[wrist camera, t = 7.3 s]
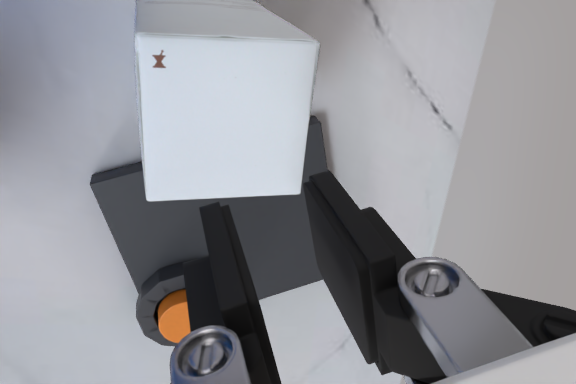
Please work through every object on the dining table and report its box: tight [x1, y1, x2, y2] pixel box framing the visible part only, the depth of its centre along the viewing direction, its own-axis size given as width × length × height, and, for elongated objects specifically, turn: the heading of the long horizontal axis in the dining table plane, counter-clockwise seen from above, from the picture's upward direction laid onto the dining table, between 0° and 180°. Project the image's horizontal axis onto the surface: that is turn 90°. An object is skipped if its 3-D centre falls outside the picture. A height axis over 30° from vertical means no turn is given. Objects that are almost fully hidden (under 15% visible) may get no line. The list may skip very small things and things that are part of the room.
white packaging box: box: [134, 0, 320, 201], centre depth 25 cm, size 7×7×13 cm
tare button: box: [158, 289, 191, 343], centre depth 36 cm, size 4×4×2 cm
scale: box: [90, 116, 328, 346], centre depth 36 cm, size 16×15×3 cm
